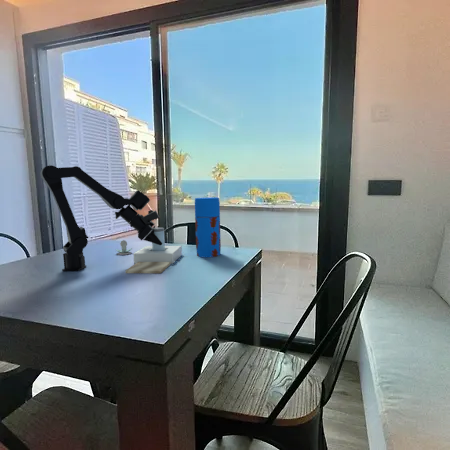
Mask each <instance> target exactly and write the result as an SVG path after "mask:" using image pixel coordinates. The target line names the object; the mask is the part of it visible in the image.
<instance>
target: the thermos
mask: <svg viewBox="0 0 450 450" xmlns="http://www.w3.org/2000/svg"><path fill="white" fill-rule="evenodd" d="M220 203H221V202H220V198H219V197H216V196H214V197H195V198H194V216H195V217H194V220H195V221H194V222H195V224H194V225H195V249H196V256H198V257H200V258H215V257H218V256H220V255H221V250H222V249H221V246H222V245H221V243H222V242H221V213H220V212H221V210H220V209H221V208H220V207H221V206H220Z"/></svg>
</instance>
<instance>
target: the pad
mask: <svg viewBox="0 0 450 450" xmlns="http://www.w3.org/2000/svg"><path fill="white" fill-rule="evenodd" d="M171 265H172V263H171V262H137V263H133V265H131V266H130V267H128V268H127V269H126V270H125V274H162V273H163V272H165V270H166V269H168V267H169V266H171Z"/></svg>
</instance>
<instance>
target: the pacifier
mask: <svg viewBox="0 0 450 450" xmlns="http://www.w3.org/2000/svg"><path fill="white" fill-rule="evenodd" d="M119 244H120V247H121V249H117V248H116V249H115V252H117V253H116V255H119V256H125V255H131V254H132V250H133V247H131V248H128V249H127V246H128V242H127V241H126V240H124V239H123V240H121V241H120V243H119Z"/></svg>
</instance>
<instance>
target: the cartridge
mask: <svg viewBox="0 0 450 450" xmlns="http://www.w3.org/2000/svg"><path fill="white" fill-rule="evenodd" d="M152 228H153V227H152ZM153 229H154V233H155V235H156V236H157V237H158V238H159V240H160V241H161V242H162V245H158V244H155V243H152V242H151V246H152V250H153V251H165V246H166V243H165V242H166V241H165V228H164V227H155V228H153ZM153 229H152V230H153Z"/></svg>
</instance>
